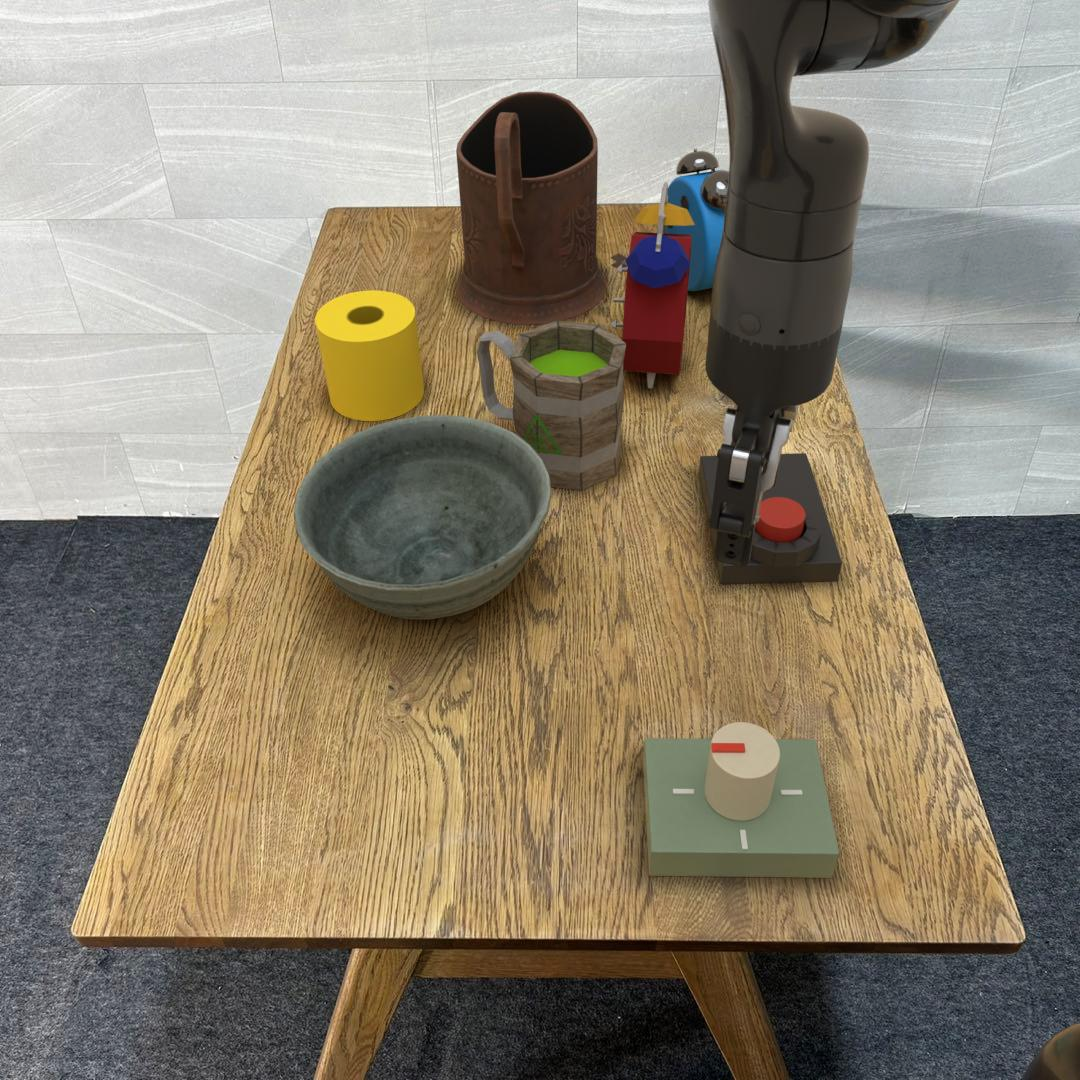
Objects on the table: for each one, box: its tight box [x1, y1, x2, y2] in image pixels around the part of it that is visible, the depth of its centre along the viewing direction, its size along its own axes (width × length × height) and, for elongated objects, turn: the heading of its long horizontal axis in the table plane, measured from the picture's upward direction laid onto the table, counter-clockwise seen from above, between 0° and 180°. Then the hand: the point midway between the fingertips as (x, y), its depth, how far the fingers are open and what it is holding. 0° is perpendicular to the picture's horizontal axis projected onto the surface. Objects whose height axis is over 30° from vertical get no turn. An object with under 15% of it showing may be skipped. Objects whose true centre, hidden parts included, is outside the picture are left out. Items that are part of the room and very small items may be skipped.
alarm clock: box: [665, 148, 729, 292], centre depth 122 cm, size 13×6×15 cm, turn 18°
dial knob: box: [704, 721, 780, 821], centre depth 68 cm, size 4×4×5 cm
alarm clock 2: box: [605, 181, 695, 390], centre depth 108 cm, size 15×9×20 cm, turn 171°
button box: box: [698, 452, 843, 585], centre depth 93 cm, size 15×10×4 cm, turn 1°
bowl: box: [293, 414, 552, 620], centre depth 87 cm, size 21×21×10 cm
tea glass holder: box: [455, 91, 608, 325], centre depth 117 cm, size 18×24×25 cm
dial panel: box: [642, 737, 840, 879], centre depth 71 cm, size 12×9×3 cm
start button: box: [755, 497, 805, 543], centre depth 88 cm, size 4×4×2 cm
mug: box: [476, 320, 626, 491], centre depth 99 cm, size 16×11×12 cm
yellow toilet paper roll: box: [314, 289, 425, 422], centre depth 108 cm, size 10×10×9 cm
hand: (746, 520), depth 70 cm, fingers open, 8 cm apart
